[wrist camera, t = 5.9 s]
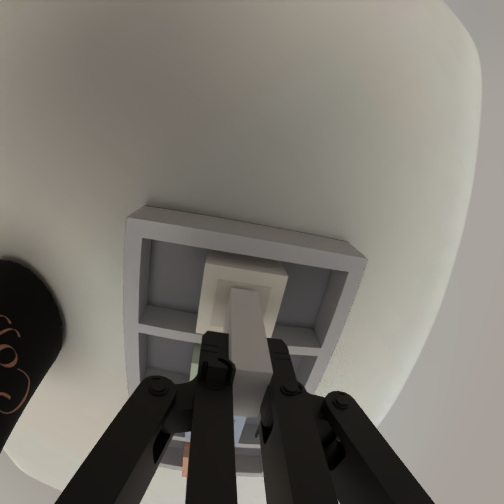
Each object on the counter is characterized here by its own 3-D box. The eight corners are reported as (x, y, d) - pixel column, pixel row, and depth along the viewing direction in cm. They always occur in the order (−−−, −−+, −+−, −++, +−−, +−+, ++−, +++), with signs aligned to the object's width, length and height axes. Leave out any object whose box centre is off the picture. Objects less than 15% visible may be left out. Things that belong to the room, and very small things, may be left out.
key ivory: (208, 248, 18) (204, 264, 15) (281, 260, 18) (288, 277, 16) (199, 312, 19) (195, 334, 17) (265, 322, 20) (270, 344, 17)
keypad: (144, 205, 18) (126, 217, 15) (347, 241, 20) (368, 259, 17) (144, 439, 26) (139, 462, 23) (265, 453, 28) (268, 476, 25)
